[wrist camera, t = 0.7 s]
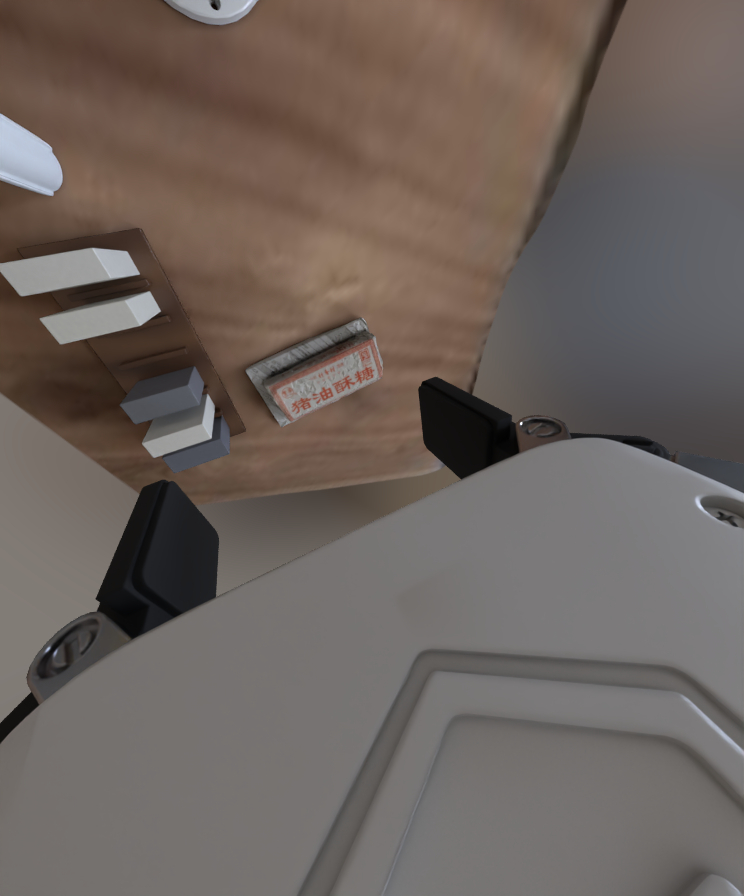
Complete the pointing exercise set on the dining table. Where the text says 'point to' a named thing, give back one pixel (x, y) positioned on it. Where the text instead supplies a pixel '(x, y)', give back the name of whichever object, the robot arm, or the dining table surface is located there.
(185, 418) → the white book
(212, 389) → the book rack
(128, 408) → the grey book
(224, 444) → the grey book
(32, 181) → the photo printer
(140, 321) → the white book
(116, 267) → the white book
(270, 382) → the packaged product
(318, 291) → the dining table surface
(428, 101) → the dining table surface
